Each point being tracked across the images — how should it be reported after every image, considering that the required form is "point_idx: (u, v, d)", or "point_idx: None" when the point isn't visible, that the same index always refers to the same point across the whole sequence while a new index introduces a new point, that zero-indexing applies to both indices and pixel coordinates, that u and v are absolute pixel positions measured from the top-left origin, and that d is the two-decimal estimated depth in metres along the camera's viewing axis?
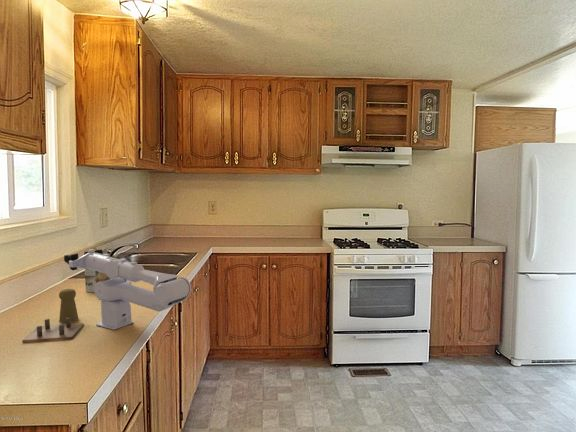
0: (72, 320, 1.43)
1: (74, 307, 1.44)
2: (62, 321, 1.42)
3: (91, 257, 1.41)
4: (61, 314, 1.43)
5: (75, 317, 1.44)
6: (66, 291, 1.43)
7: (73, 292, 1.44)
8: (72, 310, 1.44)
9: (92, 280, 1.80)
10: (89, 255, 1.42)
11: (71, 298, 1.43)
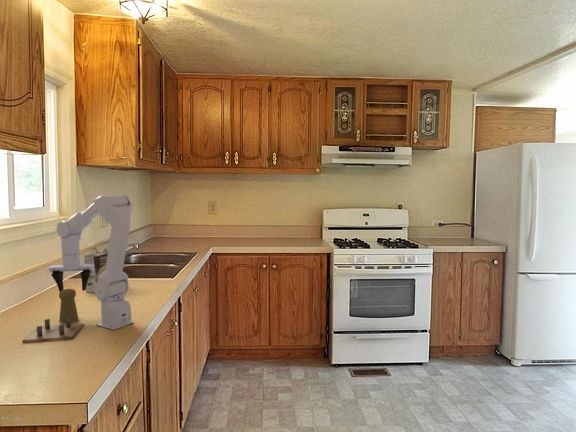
0: (72, 320, 1.43)
1: (74, 307, 1.44)
2: (62, 321, 1.42)
3: None
4: (61, 314, 1.43)
5: (75, 317, 1.44)
6: (66, 291, 1.43)
7: (73, 292, 1.44)
8: (72, 310, 1.44)
9: (92, 280, 1.80)
10: None
11: (71, 298, 1.43)
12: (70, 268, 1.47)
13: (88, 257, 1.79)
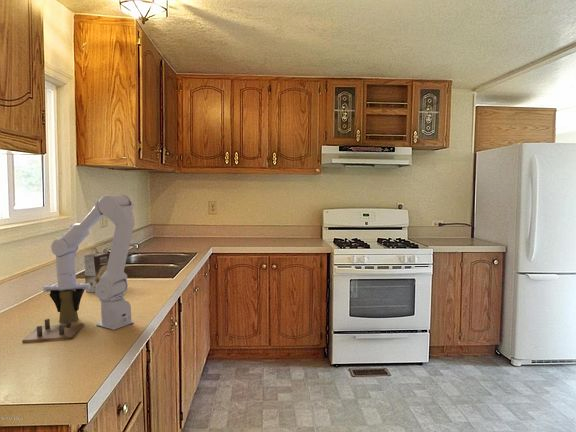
0: (72, 320, 1.43)
1: (74, 307, 1.44)
2: (62, 321, 1.42)
3: None
4: (61, 314, 1.43)
5: (75, 317, 1.44)
6: (66, 291, 1.43)
7: None
8: (72, 310, 1.44)
9: (92, 280, 1.80)
10: None
11: (71, 298, 1.43)
12: (65, 288, 1.41)
13: (88, 257, 1.79)
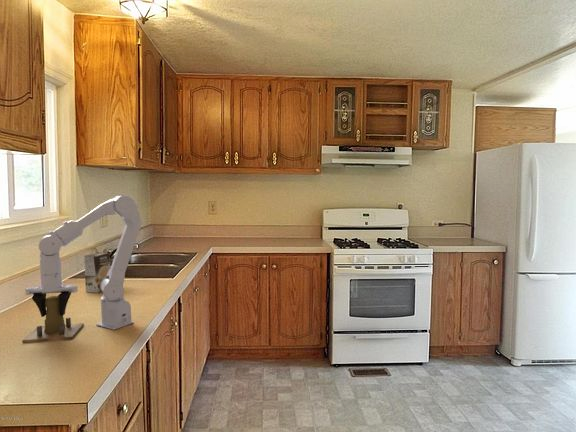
0: None
1: (61, 316, 1.33)
2: (48, 331, 1.30)
3: None
4: (47, 324, 1.31)
5: None
6: (53, 298, 1.31)
7: None
8: (59, 319, 1.32)
9: (92, 280, 1.80)
10: None
11: (58, 306, 1.32)
12: (50, 290, 1.28)
13: (88, 257, 1.79)
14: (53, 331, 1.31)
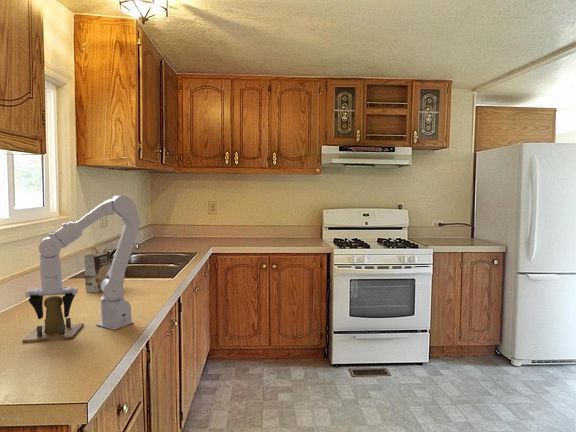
0: None
1: (61, 316, 1.33)
2: (48, 331, 1.30)
3: None
4: (47, 324, 1.31)
5: None
6: (52, 298, 1.31)
7: (60, 299, 1.32)
8: (59, 319, 1.32)
9: (92, 280, 1.80)
10: None
11: (58, 306, 1.32)
12: (50, 292, 1.28)
13: (88, 257, 1.79)
14: (53, 331, 1.31)
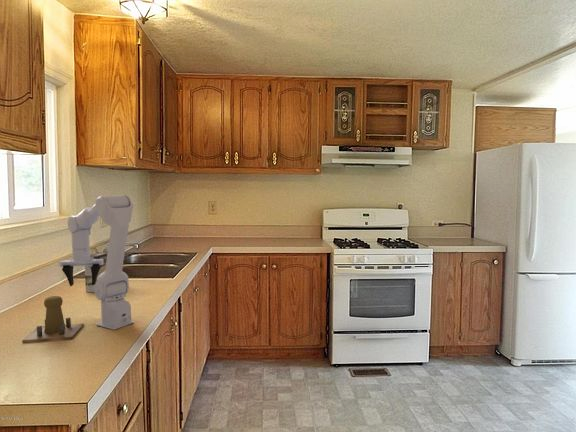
0: None
1: (61, 316, 1.33)
2: (48, 331, 1.30)
3: None
4: (47, 324, 1.31)
5: None
6: (52, 299, 1.31)
7: (60, 299, 1.32)
8: (59, 319, 1.32)
9: None
10: None
11: (58, 306, 1.32)
12: (80, 262, 1.49)
13: None
14: (53, 331, 1.31)
